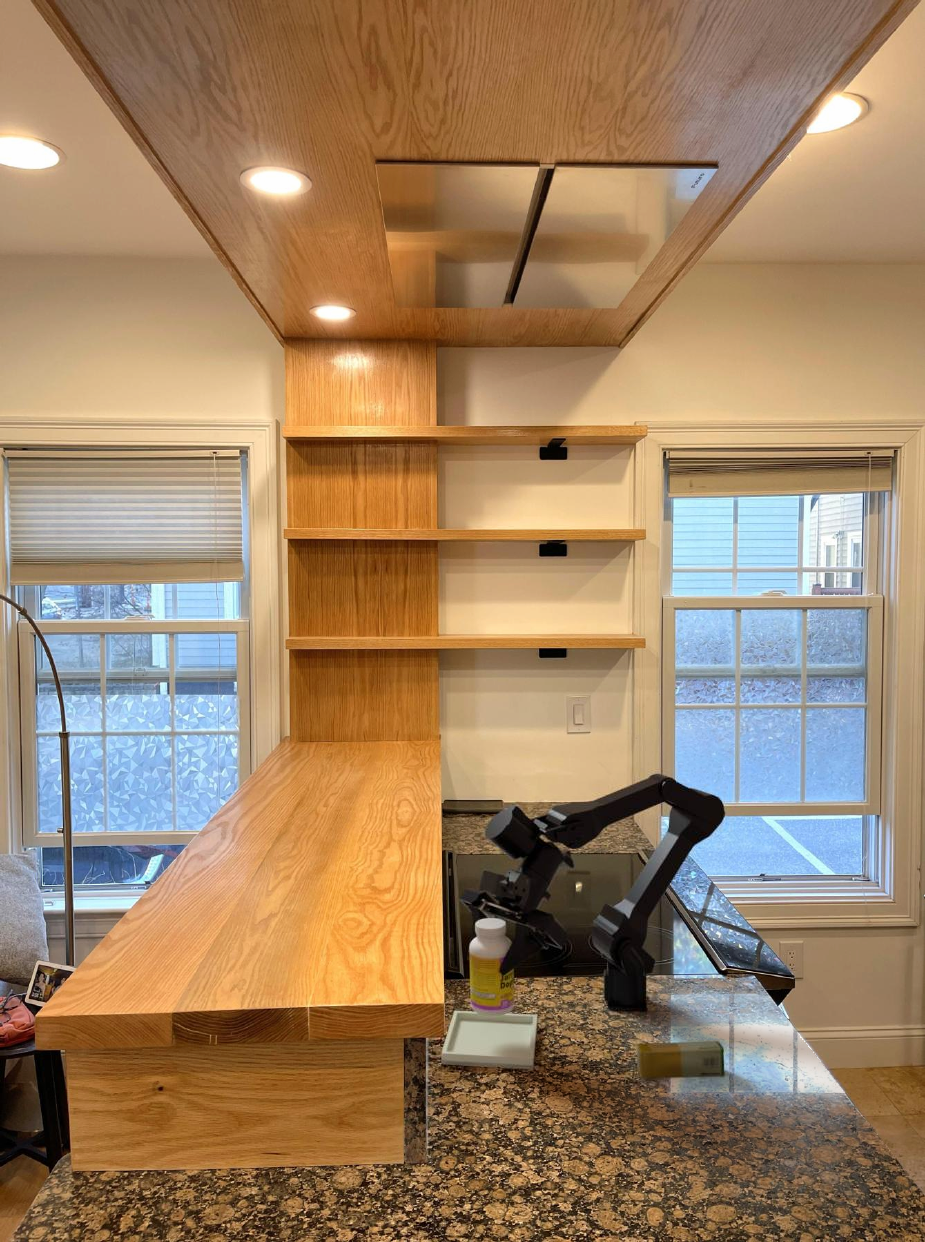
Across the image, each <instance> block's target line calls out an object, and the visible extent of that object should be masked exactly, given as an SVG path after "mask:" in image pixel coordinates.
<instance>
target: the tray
mask: <svg viewBox="0 0 925 1242" xmlns="http://www.w3.org/2000/svg"><path fill="white" fill-rule="evenodd" d="M537 1032H538V1014H528V1013H527V1014H524V1013H511V1012H509V1013H507V1014H505V1015H501V1016H484V1015H481V1014H478V1013H476V1012H475V1011H472V1010H471V1011H470V1010H454V1011H453V1014H452V1018H451V1020H450V1024H449V1027H448V1030H447V1034H446V1037H445V1041H444V1042H443V1043H444V1044H443V1046H442V1050H441V1055H440V1056H441V1058H440V1059H441V1062H440V1063H441V1065H447V1066H448V1065H453V1066H465V1067H466V1066H467V1067H470V1066H471V1067H480V1068H481V1067H483V1068H497V1067H500V1069H513V1070H514V1069H516V1070H529V1071H530V1070H534V1063H535V1053H536V1042H537Z"/></svg>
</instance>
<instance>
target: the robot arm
mask: <svg viewBox="0 0 925 1242" xmlns="http://www.w3.org/2000/svg"><path fill="white" fill-rule="evenodd" d="M663 803H664V804H666V805H668V806H670V807H671V809H670V811H669V817H668V818H669V819H668V829H667V830H666V833H665V834H664V835H663V837H662V839H661V840H660V842H659V843H658V846H657V847H656V848H655V850H654V852H653V853H652V855H651V856H650V858H649V859H648V861H647V862H646V864H645V866H643V869H642V870H641V872H640V873H639V875H638V877H637V878H636V879H635V881H634V882H633V884H632V885H631V888H630V889H629V891H628V892H627V894H626V896H625V897H624V898H623V900H621V901H620V902H619V903H617V904H615V905H612V904H611V903H609V902H606V903H605V904H604V905H603V907H602V909H601V911H600V913H599V914H598V916H597V917H596V918H594V920H592V923H593V924H594V925H593V927H592V929H591V933H590V934H591V939H592V941H591V942H592V944H593V946H594V947H595V948H596V949H597V950H598V951H599V952H600V955H601V958H603V959H605V960H606V961H607V962H606V964H607V965H606V966H607V969H604V970H603V997H604V998H603V999H604V1002H605V1001H606V1002H607V1003H606V1004H607V1005H606V1006H607V1009H608V1010H616V1011H637V1012H639V1011H640V1012H648V1011H649V1005H648V999H647V998H648V997H647V996H648V995H647V994H648V993H647V992H648V991H647V989H648V988H647V975H648V974H652V973H653V971H654V967H655V965H656V964H655V963H656V959H655V958H654V957H652V955H650V954H649V953H648V951H646V950H645V949H644V945H645V942H646V941H647V937H648V928H649V927H648V926H649V919H650V917H651V915H652V913H653V912H654V910H655V909H656V907H657V906H658V905H659V903H660V901H661V899H662V898H663V896H664V894H665V893H666V891H667V889H668V888H669V887H670V885H671V883H672V882H673V880H674V879H675V877H676V876H677V873H678V872H679V871H680V869H681V867H682V865H683V864H684V862H685V861H686V859H687V858H688V856H689V854H690V853H691V851H692V849H693V848H694V847H695V846H696V845H698V844H699V843H702V842H703V841H706V839H708V838H709V837H710V836H712V834H713V833H715V831H716V830H717V829H718V828H719V826H720V825H722V823H723V821H724V819H725V818H726V817H725V816H726V811H725V805H724V803H723V801H722V799H721V798H720V797H719V796H717V795H715V794H712V793H709V792H706V791H703V790H700V789H697V788H693V787H688V786H686V785H684V784H682V783H680V782H679V781H677V780H676V779H675V778H673V777H670V776H668V775H664V774H662V773H653V774H651V775H650V776H648V778H647V777H646V778H645V779H643V780H640V781H638V782H635V783H632V784H630V785H627V786H625V787H623V788H621V789H618V790H615V791H613V792H610V793H609V794H605V795H604V796H602V797H599V798H596V799H594V800H589V801H579V802H578V801H576V802H573V801H572V802H569V803H564V804H560V805H555V806H553V807H551V808H550V809H549V811H547V813H546V814H542V815H539V816H536V817H533V818H529V817H528V816H527V814H525V812H524V811H523V810H522V809H521V808H520V807H519V806H517V805H516V804H515V803H511V804H510V805H509V806H508V807H507V808H506V809H503V810H501V811H500V812H498V813H497V814H495V815H494V816H492V818H490V821H489V822H488V824H487V826H486V828H485V831H484V835H485V837H486V839H487V840H489V841H490V842H491V843H492V844H493V845H495V846H496V847H497V848H498V849H499V850H500V851H502V853H504V854H505V855H506V856H508V858H510V859H511V860H517V859H521V861H520V862H519V865H518V867H517V868H516V870H514V869H512V868H510V869H509V870H507V872H506V874H505V875H504V874H500V873H498V872H497V873H496V872H494V871H492V870H488V869H484V868H483V870H482V874H481V877H480V879H479V883H478V886H477V888H476V887H473V886H470V887H468V888H465V889H464V891H463V892H462V893H461V895H460V898H459V902H461V904H463V905H464V906H465V908H467V911H469V912H470V914H471V919H472V927H471V935H470V939H469V944H468V947H469V946H470V943H471V941H472V940H473V939H474V938H476V937H477V934H476V932H475V923H476V922H477V921H478V920H481V919H485V918H497V919H501V920H504V921H507V922H510V923H512V924H515V932H514V938H513V941H511V942H512V944H511V946H510V948H509V950H508V952H507V954H506V956H505V958H504V960H503V962H502V964H501V967H500V970H499V973H501V974H502V975H506V974H507V973H508V972H510V971H511V970H512V969H516V967H518V966H519V965H520V964H521V963H523V962H525V961H526V960H527V959H529V958H530V957H532V956H534V955H535V954H537V953H539V952H540V951H542V950H544V949H545V950H548V949H549V948H550V947H549V946H552V947H555V948H557V949H560V950H563V948H564V946H565V944H566V943H567V940H568V929H567V928H566V927H565V926H564V925H563V924H562V923H561V922H560V920H558V919H557V917H556V916H555V915H554V914H552V913H550V912H547V911H543V910H540V909H539V907H540V906H541V903H542V902H543V900H544V901H546V902H548V901H549V900H550V898H551V896H552V894H550V893H549V891H548V890H549V889H550V886H551V884H552V882H553V881H554V879H555V877H556V875H557V873H558V871H559V870H560V868H566V869H574V867H575V863H574V860H573V857H572V853H571V852H572V851H571V850H577V849H581V848H582V847H585V846H586V845H587V844H589V843H591V842H592V841H594V840H595V839H596V838H598V837H599V835H600V834H601V833H602V832H603V830H604V829H607V827H608V826H611V825H613V824H615V823H618V822H620V821H622V820H625V819H627V818H630V817H631V816H634V815H636V814H640V813H641V812H643V811H645V810H649V809H650V808H653V807H655V806H658V805H659V804H663ZM541 837H543V838H544V839H547V840H548V841H545V840H544V839H543V838H541ZM555 843H556V844H555ZM557 844H561V845H563V846H565V847H566V848H568V849H571V850H566V849H565V850H564V849H563V850H562V849H561V848H560V847H558V845H557ZM487 892H489V893H490V895H491V896H490V895H489V894H488V893H487ZM495 900H496V901H495ZM497 901H498V902H497ZM466 958H467V960H468V961H470V954H469V948H468V950H467V955H466Z"/></svg>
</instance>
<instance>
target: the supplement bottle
mask: <svg viewBox="0 0 925 1242" xmlns="http://www.w3.org/2000/svg"><path fill="white" fill-rule="evenodd" d="M475 932H476V934H477V937H476V938H474V939H473V940H472V941H471V943H470V942H469V944H470V946H469V945H468V949H469V954H470V960H469V980H470V981H469V985H470V988H469V990H470V991H469V992H470V1005H471V1009H472V1010H473V1012H476V1013H478V1014H481V1015H484V1016H501V1015H505V1014H507V1013H511V1011H513V1009H514V1008H515V1004H516V1003H515V1001H516V999H515V998H516V997H515V970H514V969H515V968H514V969H512V970H511V971H510V972H508V973H507V974H506V975H502V974H501V973H499V970H500V967H501V964H502V962H503V960H504V958H505V956H506V954H507V952H508V950H509V948H510V946H511V944H512V942H513V941H511V939H510V938H509V937H507V936H506V934H507V923H506V920H504V919H502V918H485V919H481V920H478V921H477V922H476V923H475Z"/></svg>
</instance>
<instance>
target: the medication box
mask: <svg viewBox="0 0 925 1242" xmlns="http://www.w3.org/2000/svg"><path fill="white" fill-rule="evenodd" d="M636 1060H637V1061H636V1065H637V1066H636V1070H637V1073H638V1075H639V1077H640V1078H641V1079H674V1078H675V1079H676V1078H680V1079H681V1078H721V1077H722V1078H723V1077H726V1075H725V1074H726V1071H725V1049H724V1046H723V1045H722V1043H720V1042H719V1041H718V1040H712V1041H711V1040H708V1041H703V1040H702V1041H684V1042H683V1041H679V1042H651V1043H650V1042H649V1043H637V1044H636Z"/></svg>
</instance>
